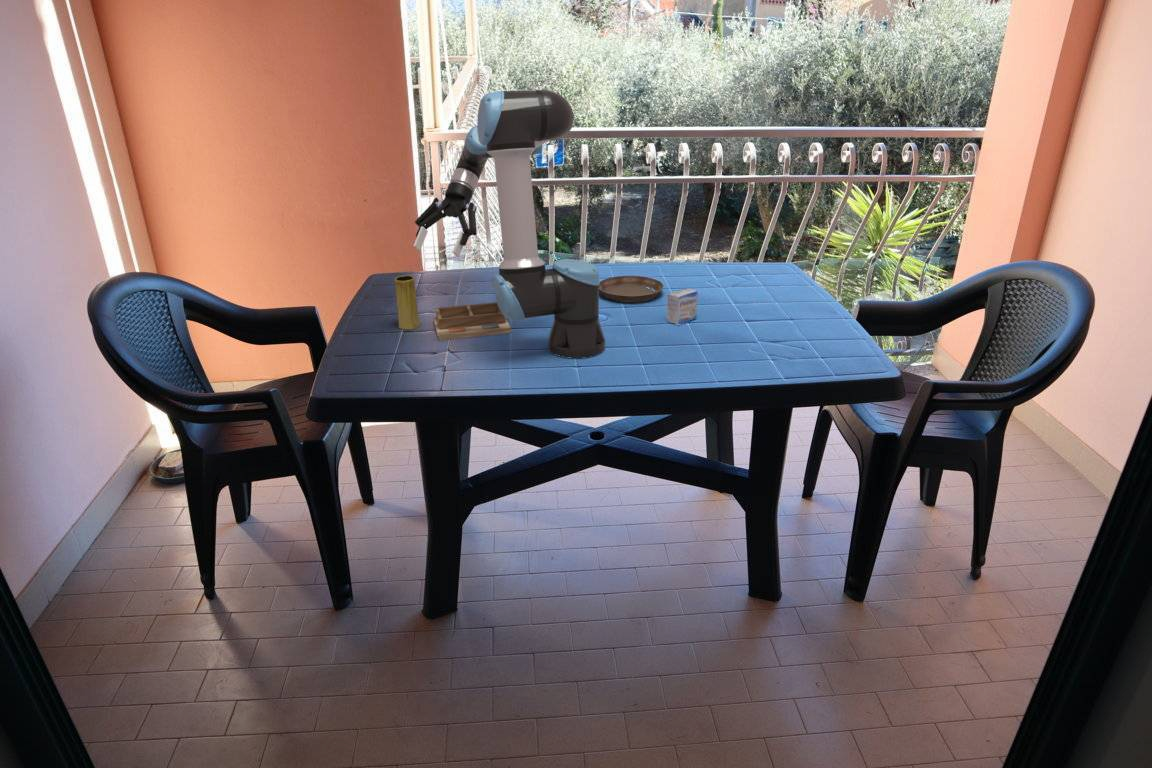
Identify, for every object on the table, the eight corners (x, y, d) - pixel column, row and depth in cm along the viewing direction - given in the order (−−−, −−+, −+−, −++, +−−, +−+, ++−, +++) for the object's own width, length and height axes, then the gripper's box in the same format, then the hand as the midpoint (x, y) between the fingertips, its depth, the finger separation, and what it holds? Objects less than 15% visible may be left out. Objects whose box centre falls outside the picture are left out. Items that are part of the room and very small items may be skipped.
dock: (511, 332, 218) (510, 317, 216) (438, 340, 214) (437, 324, 212) (502, 315, 230) (501, 301, 228) (434, 322, 226) (432, 307, 224)
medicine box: (677, 326, 222) (679, 297, 218) (666, 321, 225) (667, 293, 221) (696, 319, 226) (698, 291, 223) (685, 315, 229) (686, 287, 226)
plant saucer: (597, 284, 257) (597, 274, 255) (661, 284, 256) (661, 274, 254) (596, 305, 238) (596, 295, 237) (665, 306, 237) (665, 295, 236)
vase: (421, 321, 226) (417, 274, 220) (418, 329, 221) (413, 281, 215) (400, 322, 226) (395, 274, 220) (397, 330, 221) (391, 281, 215)
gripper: (503, 199, 229) (478, 263, 224) (432, 191, 239) (407, 252, 234) (492, 184, 222) (466, 250, 217) (420, 176, 232) (394, 239, 227)
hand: (435, 251), depth 225 cm, fingers open, 13 cm apart
